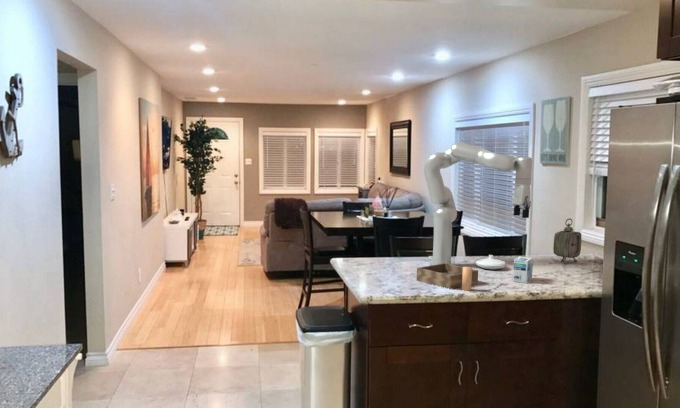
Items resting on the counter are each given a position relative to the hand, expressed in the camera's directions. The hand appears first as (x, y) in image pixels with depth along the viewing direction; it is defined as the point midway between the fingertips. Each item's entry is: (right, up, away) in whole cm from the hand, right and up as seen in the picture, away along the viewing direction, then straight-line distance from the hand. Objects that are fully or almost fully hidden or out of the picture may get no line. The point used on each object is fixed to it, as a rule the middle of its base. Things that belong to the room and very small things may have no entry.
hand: (520, 216), depth 282 cm
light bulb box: (-2, -31, -9) cm, 32 cm away
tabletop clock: (+37, -27, +38) cm, 60 cm away
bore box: (-40, -30, -16) cm, 52 cm away
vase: (-11, -28, +18) cm, 35 cm away
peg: (-34, -32, -31) cm, 56 cm away
